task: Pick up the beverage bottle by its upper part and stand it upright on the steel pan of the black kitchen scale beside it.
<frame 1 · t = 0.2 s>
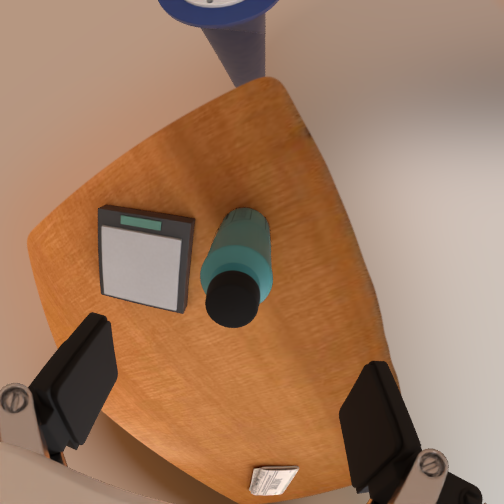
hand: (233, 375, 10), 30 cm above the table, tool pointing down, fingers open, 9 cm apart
newspaper: (269, 479, 67), on the table
scale: (145, 256, 41), on the table
beverage bottle: (246, 226, 39), on the table
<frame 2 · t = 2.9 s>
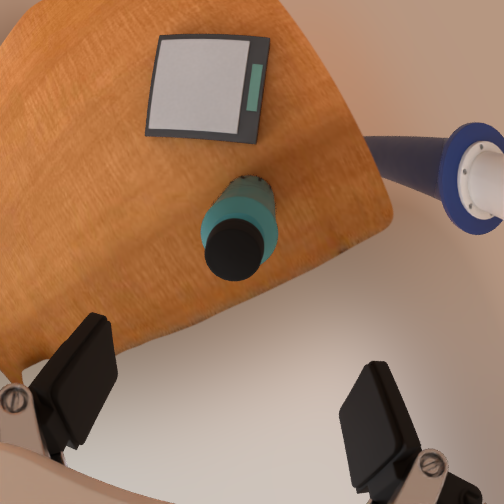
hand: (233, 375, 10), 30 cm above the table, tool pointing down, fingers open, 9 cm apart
scale: (208, 87, 33), on the table
beverage bottle: (249, 197, 38), on the table
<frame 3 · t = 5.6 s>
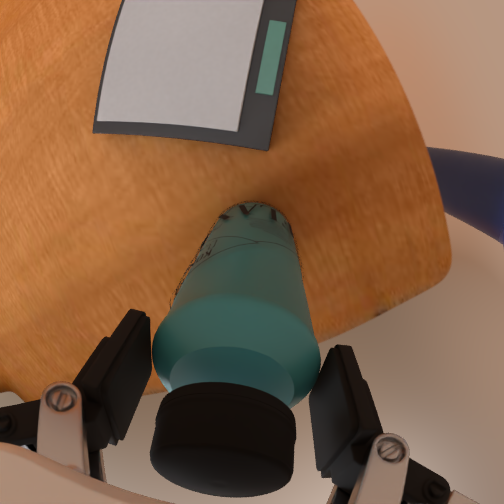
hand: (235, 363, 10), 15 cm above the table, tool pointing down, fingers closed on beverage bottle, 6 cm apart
scale: (195, 56, 19), on the table
beverage bottle: (252, 234, 24), on the table, touching gripper
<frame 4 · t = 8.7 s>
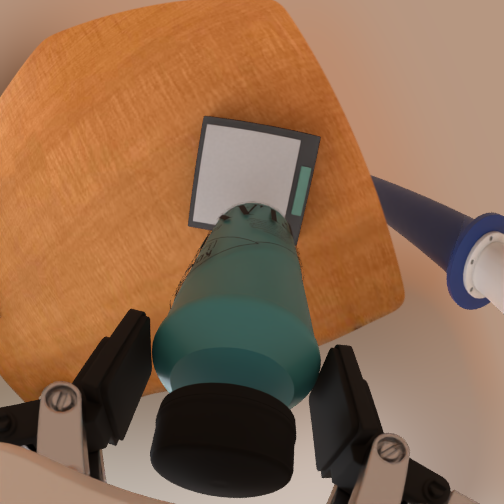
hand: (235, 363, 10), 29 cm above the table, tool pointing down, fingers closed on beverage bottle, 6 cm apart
scale: (252, 178, 37), on the table
beverage bottle: (252, 234, 24), point 14 cm above the table, touching gripper
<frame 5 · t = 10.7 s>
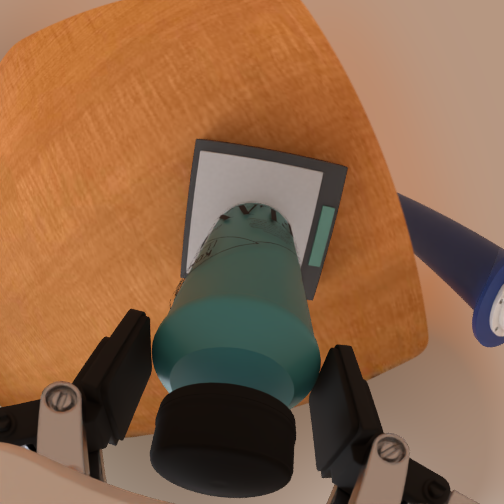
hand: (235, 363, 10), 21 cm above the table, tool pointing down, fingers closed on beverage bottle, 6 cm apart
scale: (259, 218, 30), on the table
beverage bottle: (252, 234, 24), point 6 cm above the table, touching gripper
when the fingers open (18 cm above the table, at t = 12.0 s): beverage bottle stays where it is, resting on scale.
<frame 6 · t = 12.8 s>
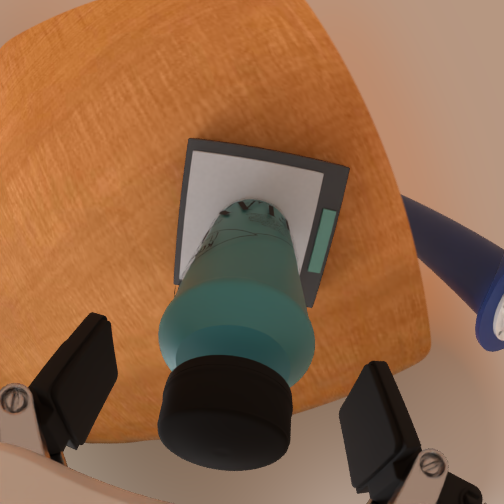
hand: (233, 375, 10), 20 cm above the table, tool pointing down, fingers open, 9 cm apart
scale: (256, 221, 28), on the table
beverage bottle: (251, 229, 25), point 3 cm above the table, touching scale
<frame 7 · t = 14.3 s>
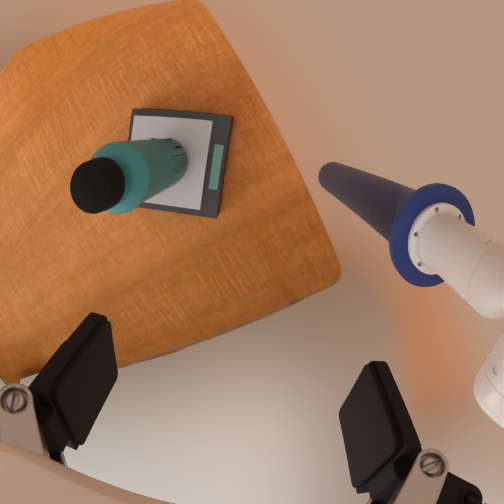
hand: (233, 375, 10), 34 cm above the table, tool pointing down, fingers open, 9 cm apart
scale: (177, 160, 39), on the table
beverage bottle: (169, 161, 36), point 3 cm above the table, touching scale
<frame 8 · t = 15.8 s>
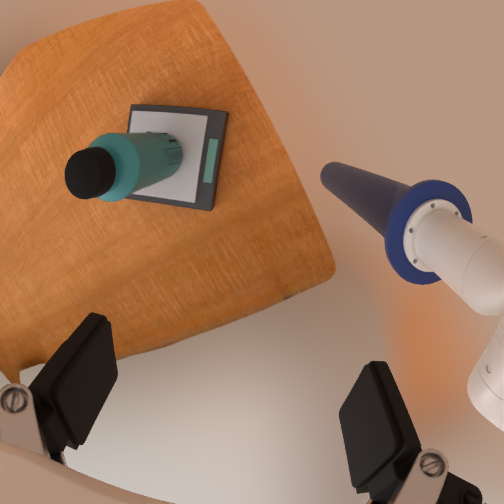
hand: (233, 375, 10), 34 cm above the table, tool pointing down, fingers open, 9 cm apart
scale: (173, 154, 40), on the table
beverage bottle: (165, 155, 37), point 3 cm above the table, touching scale
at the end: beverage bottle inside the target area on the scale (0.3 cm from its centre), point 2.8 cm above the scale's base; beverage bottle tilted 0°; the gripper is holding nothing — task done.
